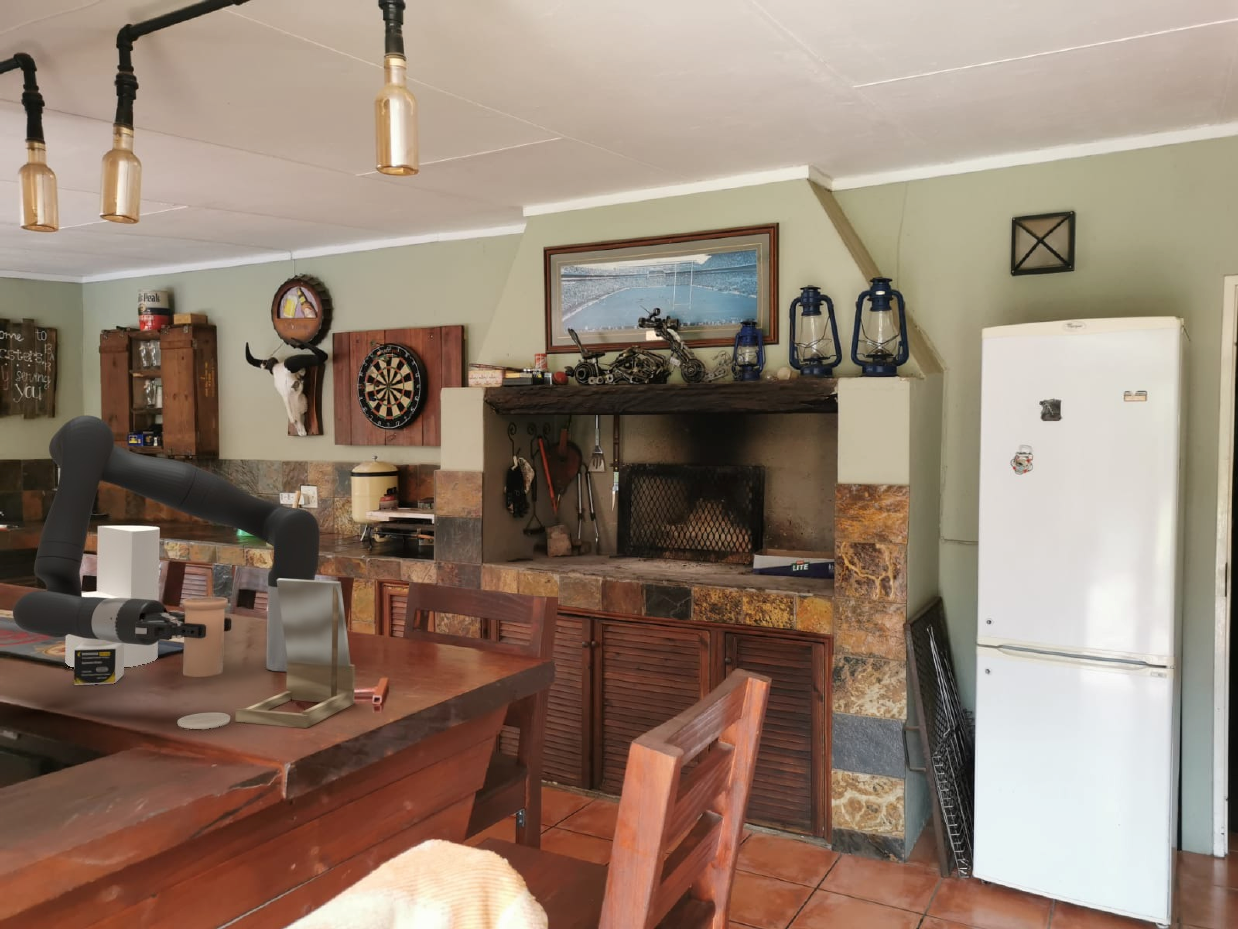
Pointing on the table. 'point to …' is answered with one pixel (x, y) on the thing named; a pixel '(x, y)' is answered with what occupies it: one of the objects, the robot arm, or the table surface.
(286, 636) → the cold frame
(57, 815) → the table surface
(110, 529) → the rounded stepped block
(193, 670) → the clay pot
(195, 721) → the saucer
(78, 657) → the medicine bottle
